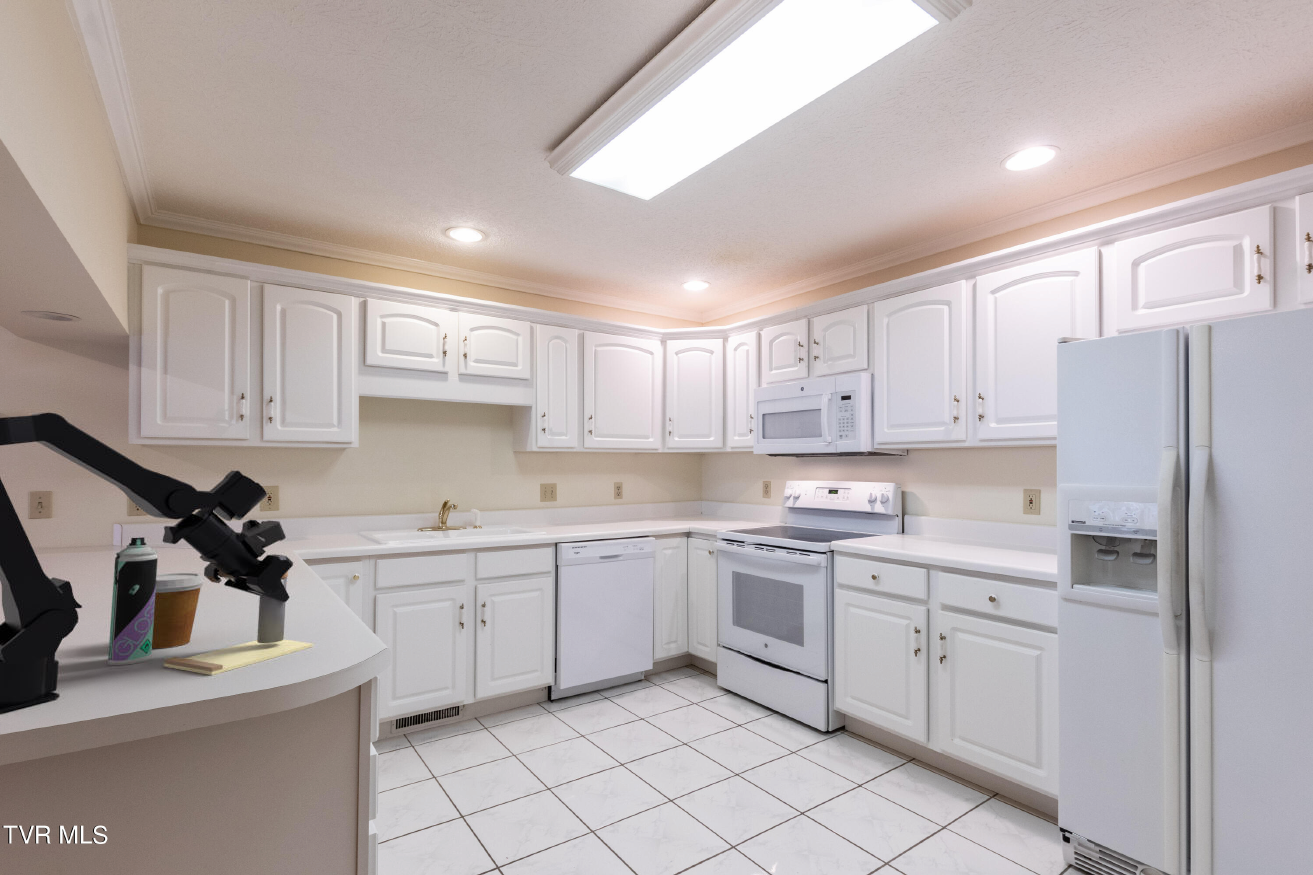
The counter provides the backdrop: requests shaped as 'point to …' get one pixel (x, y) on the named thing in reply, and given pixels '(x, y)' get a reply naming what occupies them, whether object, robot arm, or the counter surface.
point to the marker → (271, 618)
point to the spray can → (133, 604)
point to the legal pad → (235, 656)
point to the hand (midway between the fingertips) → (280, 598)
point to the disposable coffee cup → (175, 608)
